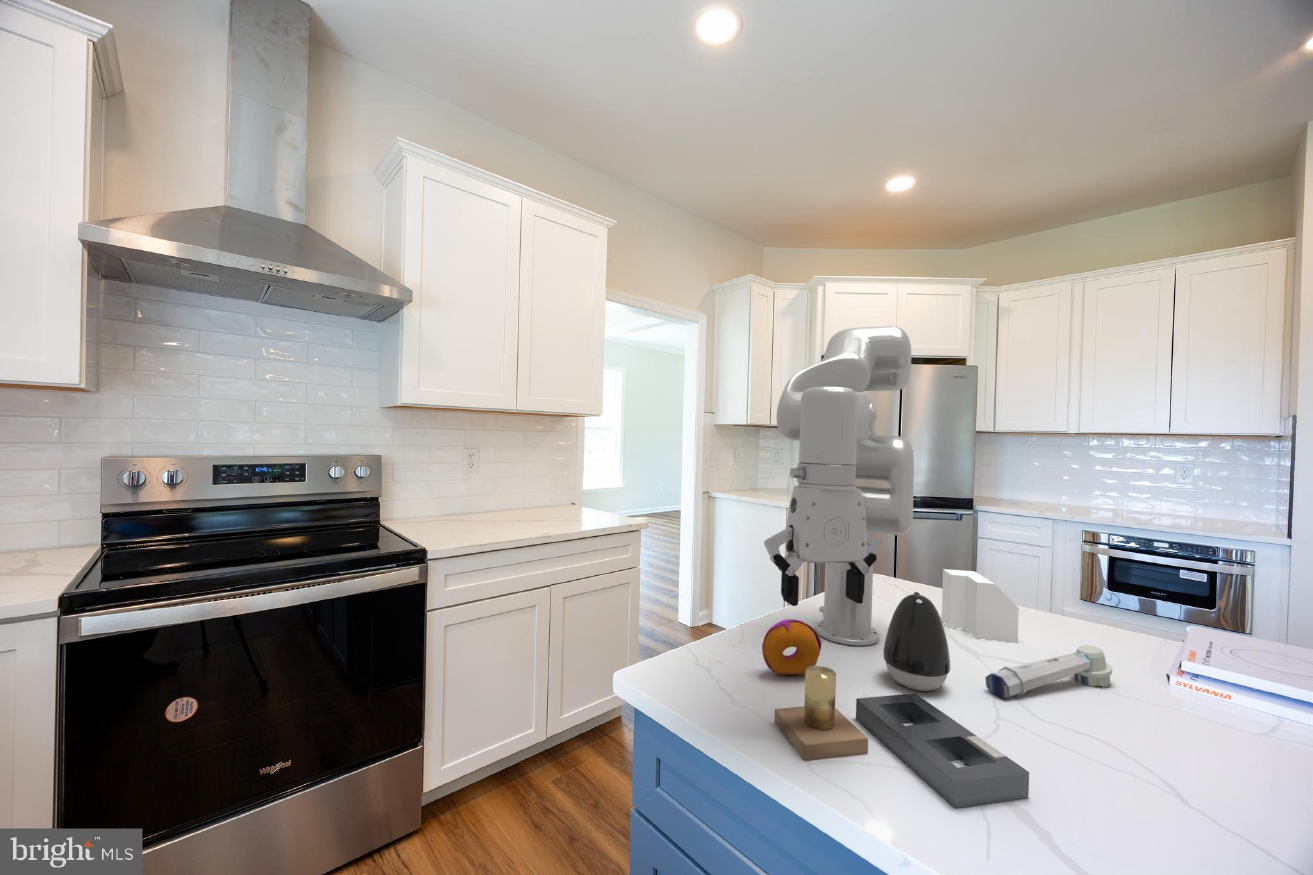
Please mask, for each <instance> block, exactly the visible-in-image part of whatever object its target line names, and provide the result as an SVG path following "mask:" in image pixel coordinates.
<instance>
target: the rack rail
mask: <svg viewBox="0 0 1313 875" xmlns="http://www.w3.org/2000/svg"><path fill="white" fill-rule="evenodd" d="M855 719H856V720H857V721H858V723H860V724H861V725H862V726H863V727H864V728H865V729H866V730H867V731H869V733H870V734H872V735H873V736H875V738H876V739H878V740H879V741H880V742H881V743H882V744H883V746H885V747H886V748H887V749H889V750H890V751H891V752H892V753H893V755H895V756H897V757H898V758H899V759H900V760H901V761H902V763H904V764H905V765H906V766H907V767H908V768H909V769H911V770H912V771H913V772H914V773H915V774H916V775H918V776H919V777H920V778H921V779H922V780H923V781H924V782H925V783H926V784H927V785H929V787H931V788H932V789H933V790H934V791H935V792H936V793H938V794H939V795H940V797H941V798H943V799H944V800H945V801H946V802H948V804H949V805H951V807H953V808H954V809H962V808H969V807H975V806H976V807H977V806H983V805H987V804H988V805H989V804H996V803H1004V802H1010V801H1016V800H1024V799H1029V795H1030V794H1029V793H1030V792H1029V789H1030V771H1028V770H1027V769H1025V768H1024V767H1022V766H1021V765H1020V764H1018V763H1017V762H1015V761H1014V760H1012V759H1011V758H1009V757H1008V756H1007V755H1005V754H1004V753H1002V752H1001V751H999V750H998V749H996V747H994V746H992V745H991V744H989V743H987V741H985V740H983V739H982V738H981V737H980V736H977V735H976V734H975V733H973V731H970V730H969V729H967V728H966V727H965V726H963V725H962V724H960V722H957V720H954V719H953V718H952V717H950V716H949V715H947V714H946V713H945V712H943V711H942V710H940V709H938V708H937V707H935V706H934V705H933V704H931V703H930V702H928V701H927V700H926V699H924V698H923V697H921V696H920V695H919V694H917V693H915V692H914V693H913V692H912V693H902V694H891V695H880V696H870V697H858V698H855ZM905 723H912V724H911V725H905ZM955 760H960V761H961V762H962V763H964V764H965V765H966V766H961V767H957V766H956V765H955V764H954V763H952V762H951V761H955Z"/></svg>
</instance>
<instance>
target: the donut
mask: <svg viewBox="0 0 1313 875" xmlns="http://www.w3.org/2000/svg"><path fill="white" fill-rule="evenodd" d="M820 637H821V636H820V635H819V634H818V633H817V632H816V629H814V628H813V627H812V626H811V625H810V624H808V623H807V622H804V621H802V620H800V619H799V620H798V619H795V618H788V619H784V620H783V619H782V620H781V621H779V622H776V623H775V624H774V625H772V626H771V627H770V628H769V629H768V630H767V632H766V633H765V635H764V637H763V641H762V646H761V649H762V650H761V651H762V657H763V660H764V663H765V665H766V666H767V668H768V670H771V672H773V673H776V674H778V675H784V676H785V675H788V676H790V675H800V676H801V675H806V668H807V667H810V666H817V662H818V660H819V657H820V654H821V648H822V644H823V642H822V639H821V638H820ZM789 648H796V649H795V651H794V652H793V653H791V654H789V655H786V654H784V652H785V650H786V649H789Z"/></svg>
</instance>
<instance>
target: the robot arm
mask: <svg viewBox="0 0 1313 875" xmlns="http://www.w3.org/2000/svg"><path fill="white" fill-rule="evenodd" d="M911 370H912V344H911V340H910V338H909V335H908V333H907V332H906V331H905V330H904V329H903V328H901V327H899V326H895V325H886V326H868V327H866V326H865V327H852V328H851V327H850V328H846V329H842V330H840V331H837V332H836V333H835V334H833V336H832V337H831V338H830V339H829V341H828V343H827V346H826V348H825V352H824V354H823V357H822V358H821V360H820V361H819V362H817V363H816V364H815V363H814V364H813V365H811V366H809V367H807V368H805V369H802V370H801V371H799V372H797V373H796V374H794V375H793V376H792V377H791V378H790V379H789V380H788V381H787V382H786V384H785V386H784V389H783V391H782V393H781V395H780V398H779V401H778V403H777V404H778V405H777V408H776V409H777V410H776V425H777V426H776V427H777V429H778V431H779V433H780V435H782V436H783V437H784V438H785V439H788V440H792V441H799V443H798V446H799V448H798V463H797V466H796V467H791V468H790V469H789V475H790V478H792V479H793V478H794V479H796V482H797V485H793V489H792V493H791V497H790V502H789V506H788V512H787V518H786V519H787V520H786V528H785V529H783V530H781V531H779V532H777V533H775V534H774V535H772V536H771V537H768V538H767V539H765V540H764V542H763V545H764V547H765V549H766V551H767V554H768V555H769V559H770V561H771V562H772V563H773V564H774V565H775V566H776V567H777V569H778V571H780V572H781V582H780V593H781V597H782V599H783V601H784V602H786V603H788V605H790V606H791V607H796V606H798V605H799V593H800V592H799V587H800V578H799V576H798V575H797V574H796V573H797V571H798V570H799V569H801V566H802V565H803V564H804V563H809V564H825V565H824V566H825V567H824V570H825V571H824V595H823V596H824V599H823V600H824V601H823V606H822V605H821V606H820V607H819V609H818V611H819V612H820V613H822V620H821V621H818V622H817V623H816V624H815V632H816V633H817V635H818V636H819V637H821V638H823V639H826V640H828V641H831V642H834V643H838V644H843V645H846V646H847V645H848V646H858V647H860V646H862V647H863V646H871V645H874V644H876V643H878V642H879V640H880V633H879V631H878V630H876V629H875V628H874V627H872V618H873V617H872V615H873V614H872V612H873V587H874V586H873V583H874V581H873V580H874V563H875V562H877V560H878V559H877V558H878V557H877V556H878V554H880V551H881V548H882V547H883V541H882V540H880V539H879V538H877V537H875V536H874V535H872V534H880V535H888V536H889V535H890V536H891V535H892V536H902V535H905V534H907V533H909V531H910V530H911V528H912V524H913V519H914V476H915V475H914V474H915V473H914V472H915V471H914V470H915V469H914V466H915V463H914V452H913V451H914V450H913V447H912V444H911V443H910V441H909V440H908V439H907V438H905V437H902V436H897V435H877V434H876V424H877V408H876V406H875V403H873V402H872V400H871V398H870V397H869V396H868V395H867V394H865V393H863V392H871V391H872V392H892V391H893V392H894V391H899V390H903V389H904V388H905V387H906V386H907V384H908V383H909V381H910V377H911V373H912V372H911ZM856 480H861V481H878V482H879V481H880V482H885V483H887V484H888V485H889V487H878V486H875V487H874V486H864V485H863V486H862V485H856ZM870 533H871V534H870ZM784 544H785V550H786V555H785V556H783V555H782V554H781V551H780V546H782V545H784Z"/></svg>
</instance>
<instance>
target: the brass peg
mask: <svg viewBox="0 0 1313 875" xmlns="http://www.w3.org/2000/svg"><path fill="white" fill-rule="evenodd" d="M804 677H805V680H804V681H805V682H804V683H805V684H804V686H805V687H804V706H805V710H804V722H805V724H806V725H807V726H809V727H811V728H813V729H815V730H819V731H829V730H832V729H833V728H834V726H835V708H836V693H837V692H836V688H837V673H836V671H835V670H833V669H831V668H828V667H826V666H821V665H815V666H810V667H807V668H806V674H805V676H804Z"/></svg>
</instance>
